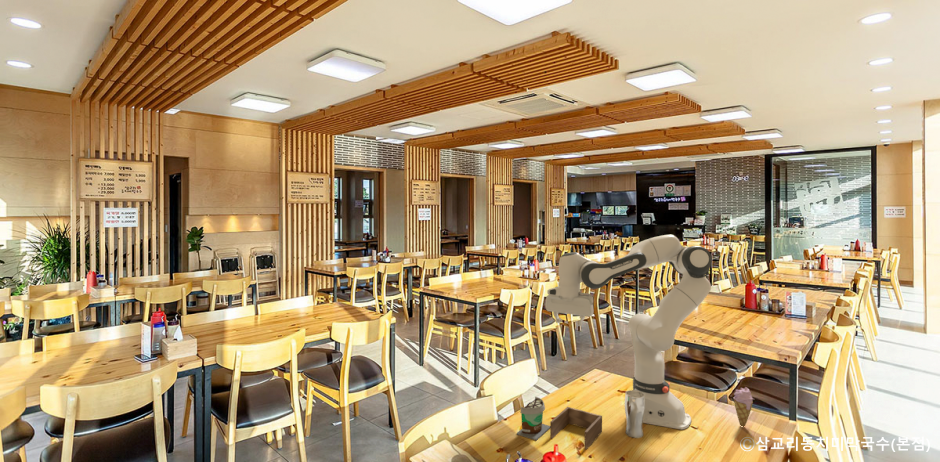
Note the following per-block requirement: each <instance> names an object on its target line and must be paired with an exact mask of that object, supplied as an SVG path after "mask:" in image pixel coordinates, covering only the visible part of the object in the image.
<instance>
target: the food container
mask: <svg viewBox="0 0 940 462" xmlns="http://www.w3.org/2000/svg"><path fill="white" fill-rule="evenodd" d="M534 397H535V398H534V400H532V401H530V402H528V403H527V404H526V405H525V406H521V407H520V415H521V429H522V433H524V434H536V433H539V432H540V431H541V430H542V424H543V416H544V412H545V409H546V407H545V402H544V400H543V399H542V398H540V397H537V396H534Z"/></svg>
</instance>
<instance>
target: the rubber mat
mask: <svg viewBox="0 0 940 462" xmlns="http://www.w3.org/2000/svg"><path fill="white" fill-rule="evenodd" d="M549 430H550V425H547V424H544V423H542V430H541V431H540V432H539V433H536V434H524V433H522V428H521V429H520V430H519V431H517V432H516V435H517V436H521V437H524V438H527V439H529V440H534V441H538V440H539V439H540V438H541V437H543V435H544V434H545V433H547V432H548V431H549Z"/></svg>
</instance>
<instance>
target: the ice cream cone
mask: <svg viewBox="0 0 940 462" xmlns="http://www.w3.org/2000/svg"><path fill="white" fill-rule="evenodd" d="M733 395H734V397H732V398H733V402H734V407H735V411H736V416H737V419H738V423H739V426H740V425H741V426H743V427H744V426H745V427H746V425H747V421H748V420H749V417H750V415H751V414H750V413H751V411H752V407H753V403H754V402H753V400H755V398H753V396H752V391H750V389H749V388H748V387H746V386H745V387H744V388H743V387H740V389H735V392H733ZM741 426H740V427H741ZM743 427H742V428H743ZM745 427H744V428H745Z"/></svg>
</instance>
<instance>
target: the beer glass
mask: <svg viewBox="0 0 940 462" xmlns="http://www.w3.org/2000/svg"><path fill="white" fill-rule="evenodd" d="M644 396H645V395H644V394H643V393H642V392H640V391H635V390H633V389H631V390H626V391H625V396H624V411H625V417H626V418H625V419H626V428H625V435H626V436H628V437H630V438H634V439H640V438H642V437H644V431H643V423H642V422H643V417H644V412H645V397H644Z"/></svg>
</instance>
